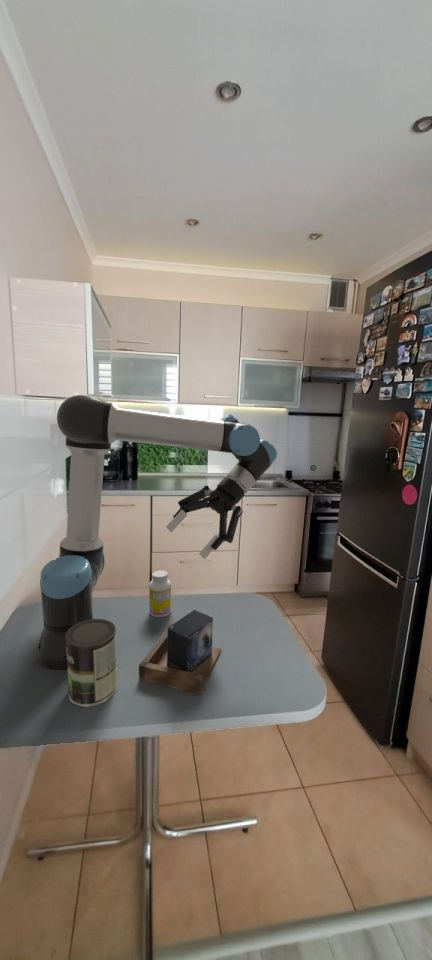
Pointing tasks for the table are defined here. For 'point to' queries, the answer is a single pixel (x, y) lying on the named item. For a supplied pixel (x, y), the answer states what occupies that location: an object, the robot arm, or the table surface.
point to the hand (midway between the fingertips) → (184, 542)
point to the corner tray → (159, 673)
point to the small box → (189, 641)
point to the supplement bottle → (160, 594)
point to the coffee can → (91, 662)
